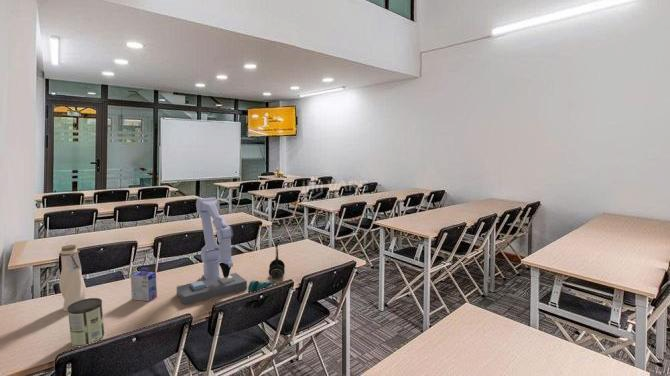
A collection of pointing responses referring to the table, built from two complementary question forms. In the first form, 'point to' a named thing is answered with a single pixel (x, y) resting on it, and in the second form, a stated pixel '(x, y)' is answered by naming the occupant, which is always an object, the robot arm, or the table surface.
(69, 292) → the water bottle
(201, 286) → the slate blue key
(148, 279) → the ink cartridge box
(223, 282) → the white key
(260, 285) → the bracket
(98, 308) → the coffee can
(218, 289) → the key panel
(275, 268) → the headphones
